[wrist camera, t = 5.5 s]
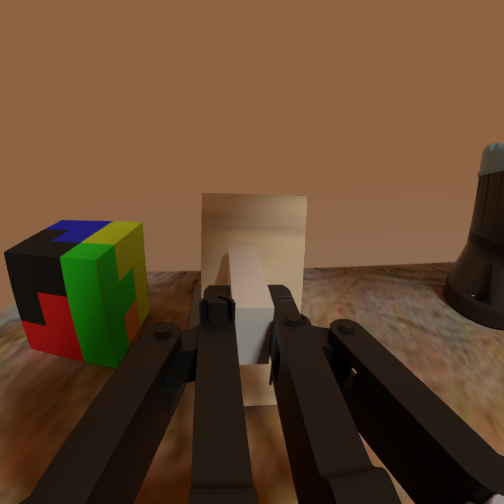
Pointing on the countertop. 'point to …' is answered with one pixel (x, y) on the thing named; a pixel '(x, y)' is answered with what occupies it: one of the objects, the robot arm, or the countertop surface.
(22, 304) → the puzzle toy
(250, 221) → the beech block
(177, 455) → the countertop surface
